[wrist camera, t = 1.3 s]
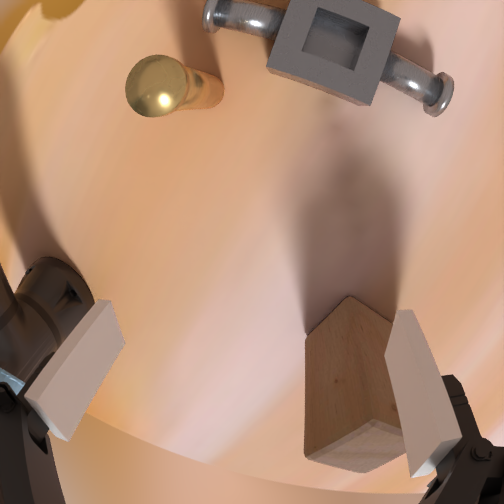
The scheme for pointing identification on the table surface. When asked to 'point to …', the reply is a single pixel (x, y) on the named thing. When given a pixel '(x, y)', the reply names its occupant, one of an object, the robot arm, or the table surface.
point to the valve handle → (170, 87)
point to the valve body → (333, 48)
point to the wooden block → (350, 391)
